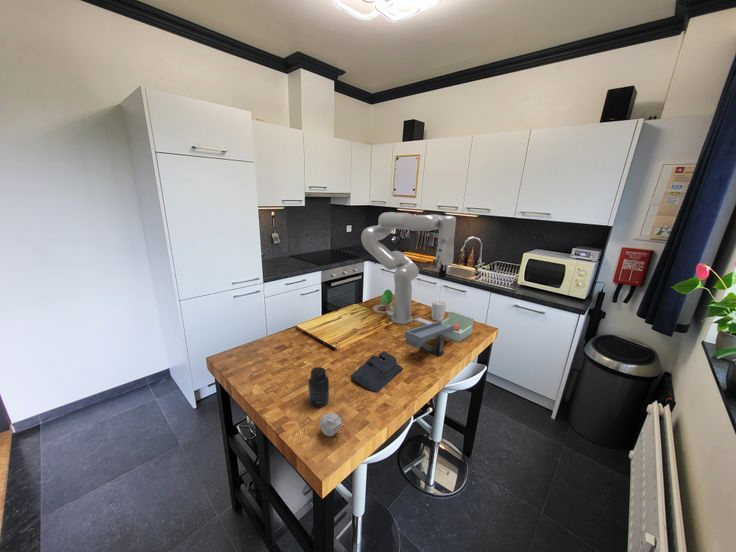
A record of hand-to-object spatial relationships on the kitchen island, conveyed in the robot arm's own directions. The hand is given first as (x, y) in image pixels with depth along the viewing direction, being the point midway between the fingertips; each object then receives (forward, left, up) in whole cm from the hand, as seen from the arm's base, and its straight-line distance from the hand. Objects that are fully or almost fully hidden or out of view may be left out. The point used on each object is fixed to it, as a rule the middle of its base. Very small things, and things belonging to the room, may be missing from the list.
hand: (442, 277), depth 146 cm
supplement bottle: (-38, -69, -29) cm, 84 cm away
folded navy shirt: (-23, -47, -30) cm, 60 cm away
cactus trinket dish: (-33, +19, -30) cm, 48 cm away
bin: (+8, -3, -29) cm, 30 cm away
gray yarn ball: (-29, -81, -29) cm, 91 cm away
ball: (+9, -1, -26) cm, 28 cm away
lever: (-7, -21, -23) cm, 32 cm away
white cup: (0, +14, -29) cm, 32 cm away
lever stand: (-3, -23, -29) cm, 37 cm away
